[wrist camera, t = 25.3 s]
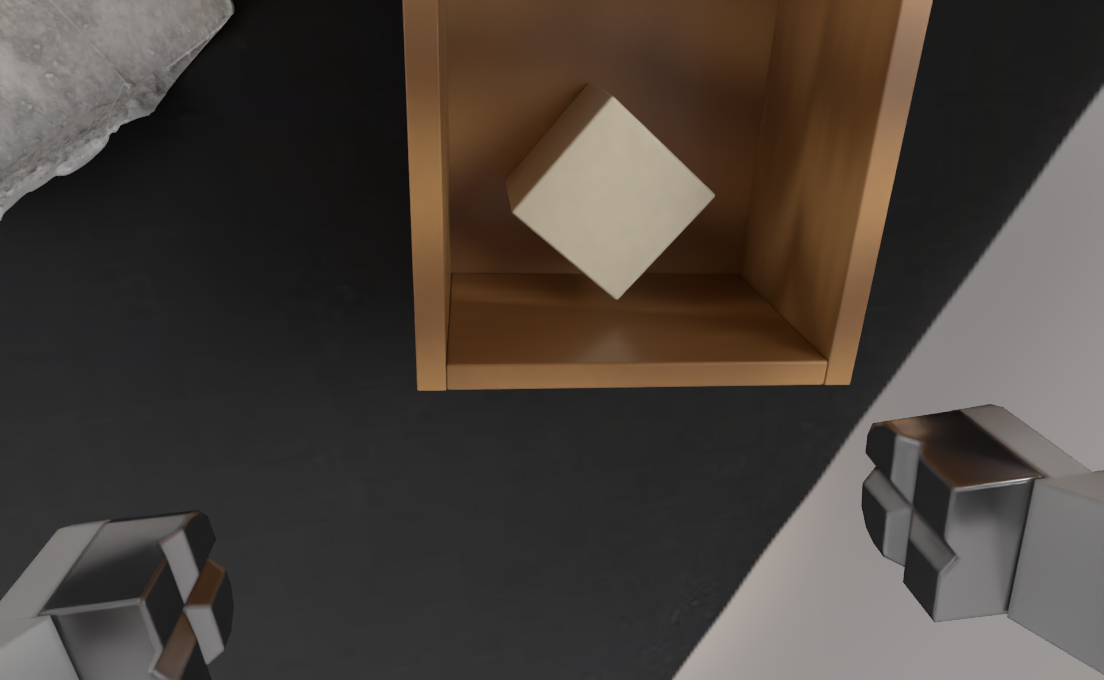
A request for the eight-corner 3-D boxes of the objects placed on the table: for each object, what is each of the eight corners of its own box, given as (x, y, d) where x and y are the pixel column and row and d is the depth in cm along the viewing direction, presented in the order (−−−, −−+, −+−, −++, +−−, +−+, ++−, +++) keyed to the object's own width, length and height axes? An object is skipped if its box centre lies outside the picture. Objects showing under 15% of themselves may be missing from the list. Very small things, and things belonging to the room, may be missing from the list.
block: (679, 167, 27) (717, 196, 23) (595, 259, 28) (617, 301, 24) (589, 81, 26) (612, 94, 22) (503, 181, 27) (510, 212, 23)
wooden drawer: (749, 285, 30) (850, 385, 22) (431, 285, 29) (417, 391, 21) (817, -177, 24) (992, -269, 16) (417, -205, 23) (389, -322, 15)
